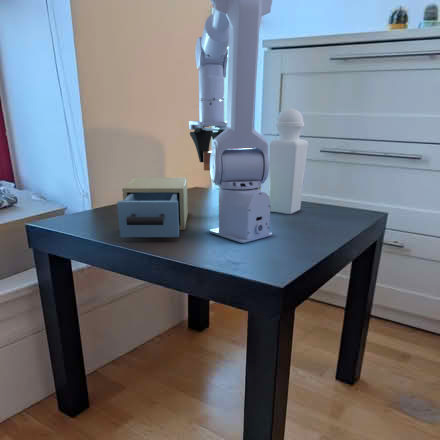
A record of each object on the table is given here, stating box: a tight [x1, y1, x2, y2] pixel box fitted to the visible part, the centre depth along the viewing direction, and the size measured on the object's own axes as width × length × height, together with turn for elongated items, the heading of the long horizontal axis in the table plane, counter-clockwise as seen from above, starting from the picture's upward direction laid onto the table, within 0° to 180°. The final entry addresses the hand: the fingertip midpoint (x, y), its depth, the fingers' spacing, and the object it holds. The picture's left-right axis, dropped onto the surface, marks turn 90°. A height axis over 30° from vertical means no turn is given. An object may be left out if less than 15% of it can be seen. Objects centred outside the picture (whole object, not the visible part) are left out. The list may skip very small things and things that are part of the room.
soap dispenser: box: [268, 108, 309, 215], centre depth 94 cm, size 6×6×22 cm
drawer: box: [116, 193, 180, 238], centre depth 77 cm, size 17×10×6 cm, turn 2°
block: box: [202, 150, 212, 171], centre depth 99 cm, size 4×4×4 cm
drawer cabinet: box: [121, 176, 189, 231], centre depth 87 cm, size 14×12×8 cm
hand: (211, 163), depth 100 cm, fingers closed on block, 5 cm apart
